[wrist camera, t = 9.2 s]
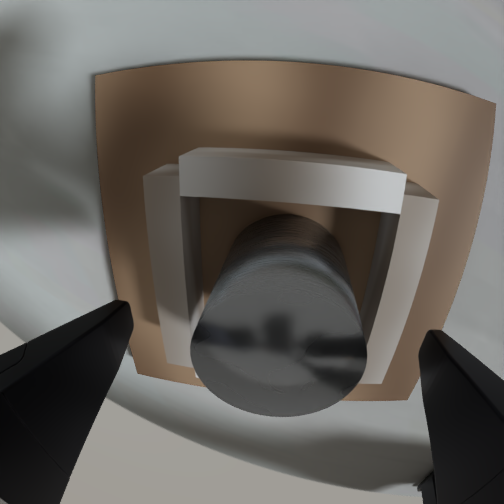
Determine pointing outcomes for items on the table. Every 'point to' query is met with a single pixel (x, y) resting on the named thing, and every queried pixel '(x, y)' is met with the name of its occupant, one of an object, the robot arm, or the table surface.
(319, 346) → the cylinder
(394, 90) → the wooden board with frame
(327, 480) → the table surface
